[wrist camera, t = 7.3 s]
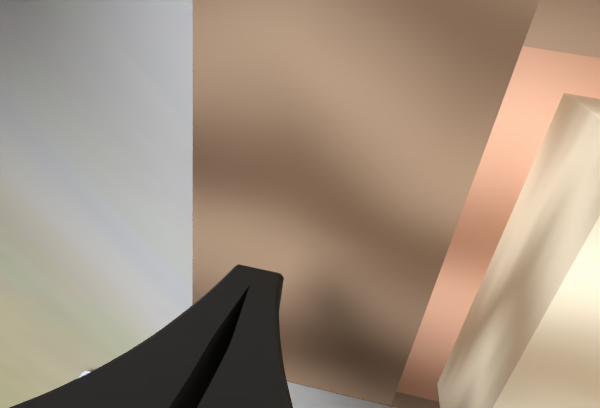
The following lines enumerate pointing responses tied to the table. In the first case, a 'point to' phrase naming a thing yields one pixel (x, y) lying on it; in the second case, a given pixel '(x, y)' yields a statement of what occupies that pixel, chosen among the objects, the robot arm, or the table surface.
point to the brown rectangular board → (373, 165)
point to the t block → (540, 284)
